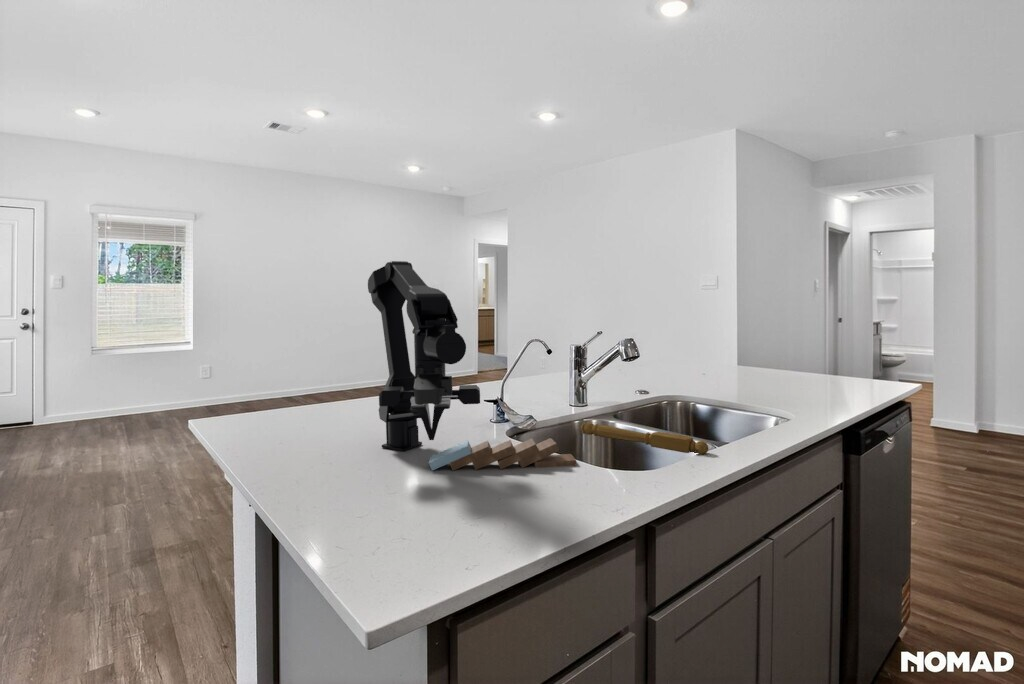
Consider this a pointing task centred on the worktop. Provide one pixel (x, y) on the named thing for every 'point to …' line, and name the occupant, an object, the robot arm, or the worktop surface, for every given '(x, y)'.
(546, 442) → the domino
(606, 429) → the brown turned wooden rod
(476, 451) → the domino
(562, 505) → the worktop surface
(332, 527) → the worktop surface
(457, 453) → the domino
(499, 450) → the domino
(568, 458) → the domino
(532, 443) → the domino
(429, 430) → the robot arm
